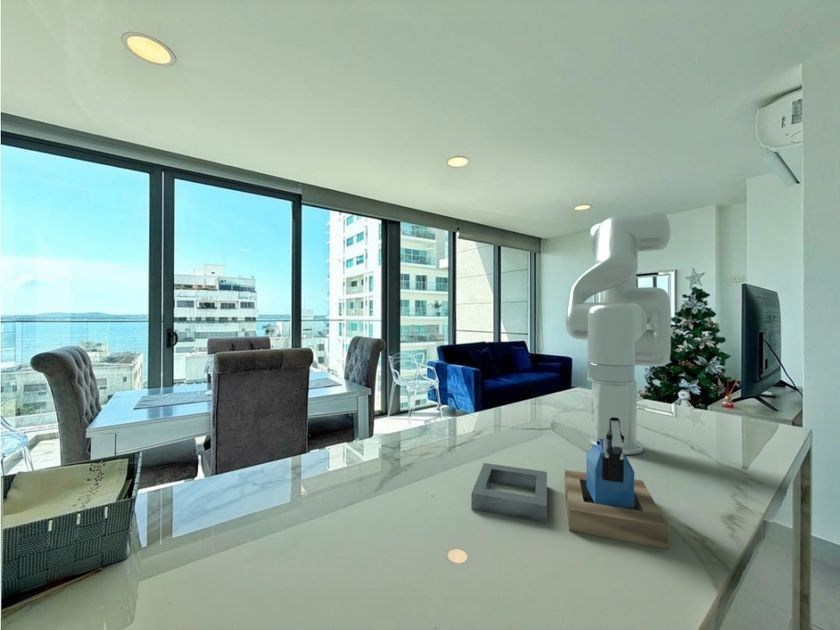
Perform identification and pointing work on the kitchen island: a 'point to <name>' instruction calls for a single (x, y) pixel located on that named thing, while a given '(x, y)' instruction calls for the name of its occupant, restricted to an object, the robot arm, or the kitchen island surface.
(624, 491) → the perfume bottle
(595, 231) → the robot arm
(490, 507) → the block
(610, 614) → the kitchen island surface
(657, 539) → the tan square frame
